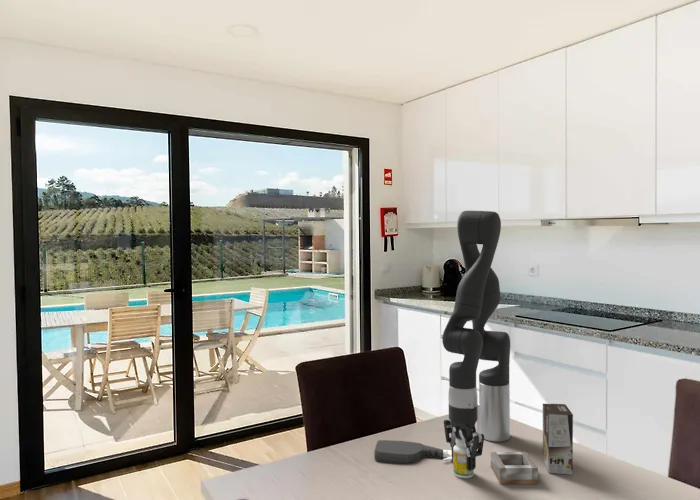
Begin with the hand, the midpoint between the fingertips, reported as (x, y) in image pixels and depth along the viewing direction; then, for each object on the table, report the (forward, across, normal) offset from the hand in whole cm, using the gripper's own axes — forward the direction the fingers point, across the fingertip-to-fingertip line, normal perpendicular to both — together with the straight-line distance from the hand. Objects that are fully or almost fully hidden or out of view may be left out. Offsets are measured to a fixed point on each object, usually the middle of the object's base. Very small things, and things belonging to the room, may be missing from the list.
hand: (463, 464), depth 137 cm
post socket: (+2, +7, +11) cm, 13 cm away
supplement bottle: (+3, 0, 0) cm, 3 cm away
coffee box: (+3, +9, +25) cm, 27 cm away
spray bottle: (+3, -15, -4) cm, 16 cm away
